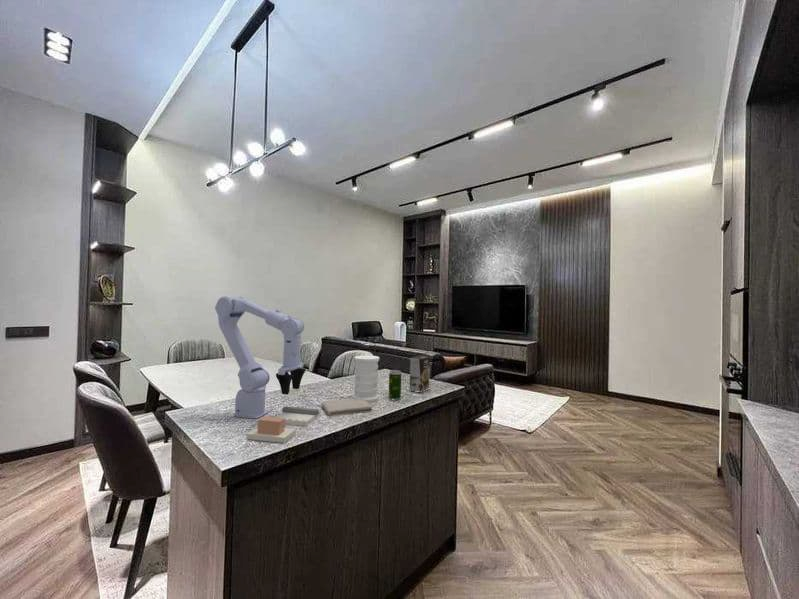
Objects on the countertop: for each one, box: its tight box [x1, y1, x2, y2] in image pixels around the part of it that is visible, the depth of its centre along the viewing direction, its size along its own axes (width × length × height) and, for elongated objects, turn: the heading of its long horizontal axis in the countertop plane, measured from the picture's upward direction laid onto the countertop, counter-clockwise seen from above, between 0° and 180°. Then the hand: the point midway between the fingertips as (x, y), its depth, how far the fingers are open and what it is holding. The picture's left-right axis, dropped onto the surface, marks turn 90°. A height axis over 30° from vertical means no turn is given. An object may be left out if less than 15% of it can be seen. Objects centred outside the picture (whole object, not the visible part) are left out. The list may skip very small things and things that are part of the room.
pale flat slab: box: [246, 416, 297, 444], centre depth 103 cm, size 12×7×5 cm, turn 80°
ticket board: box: [274, 405, 322, 427], centre depth 120 cm, size 13×12×3 cm
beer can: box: [388, 369, 402, 401], centre depth 149 cm, size 5×5×12 cm
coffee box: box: [408, 355, 431, 392], centre depth 165 cm, size 9×6×16 cm
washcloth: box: [320, 397, 373, 417], centre depth 132 cm, size 12×18×3 cm, turn 115°
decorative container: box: [351, 354, 380, 403], centre depth 148 cm, size 12×12×18 cm
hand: (290, 391), depth 121 cm, fingers open, 7 cm apart
